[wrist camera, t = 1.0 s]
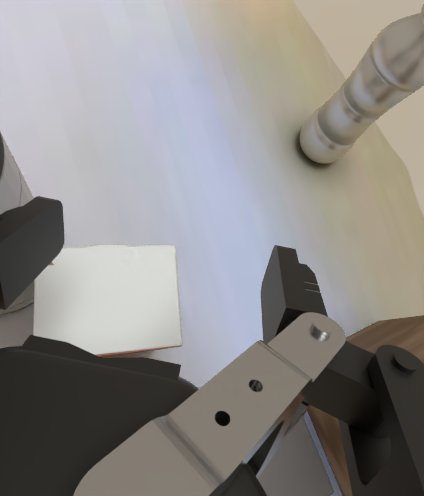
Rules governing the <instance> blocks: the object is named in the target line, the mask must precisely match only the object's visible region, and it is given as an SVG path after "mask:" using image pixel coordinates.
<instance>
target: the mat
mask: <svg viewBox="0 0 424 496" xmlns="http://www.w3.org/2000/svg"><path fill="white" fill-rule="evenodd" d="M258 481H259V482H260V484H261V486H262V487H263V489H264V491H265V492H266V494H267V496H330V495H331V494H332V493H334V490H333V488H332V486H331V483H330V481H329V478H328V476H327V474H326V471H325V469H324V466H323V464H322V461H321V459H320V457H319V454H318V452H317V449H316V447H315V445H314V442H313V440H312V437H311V435H310V433H309V430H308V428H307V425H306V423H305V421H304V418H303V416H302V417H301V419H300V420H299V421H298V422H297V424H296V425H295V426H294V428H293V429H292V430H291V432H290V433H289V434H288V436H287V437H286V438H285V440H284V441H283V442H282V444H281V445H280V446H279V448H278V449H277V451H276V452H275V454H274V455H273V457H272V459H271V460H270V462H269V463H268V465H267V466H266V468H265V469H264V471H263V472H262V473H261V475H260V476H259V477H258Z"/></svg>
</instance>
